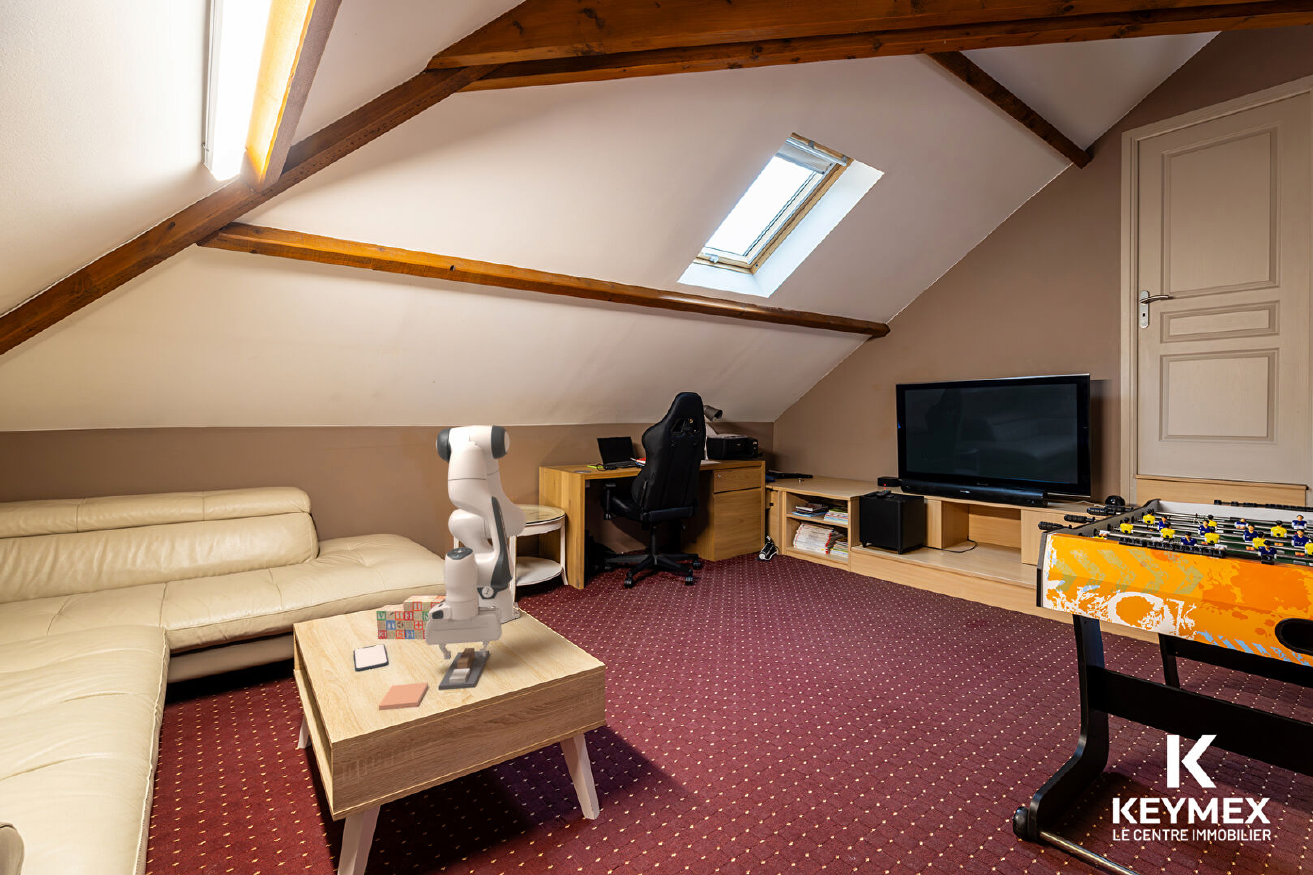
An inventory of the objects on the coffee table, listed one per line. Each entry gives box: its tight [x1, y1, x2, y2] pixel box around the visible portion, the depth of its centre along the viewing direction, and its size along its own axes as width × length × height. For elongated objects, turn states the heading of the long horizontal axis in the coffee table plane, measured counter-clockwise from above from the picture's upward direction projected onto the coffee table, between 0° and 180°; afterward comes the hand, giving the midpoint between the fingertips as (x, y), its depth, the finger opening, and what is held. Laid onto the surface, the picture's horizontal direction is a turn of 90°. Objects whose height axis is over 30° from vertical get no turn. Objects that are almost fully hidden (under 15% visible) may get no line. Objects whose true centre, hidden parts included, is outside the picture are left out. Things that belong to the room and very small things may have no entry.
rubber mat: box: [438, 649, 490, 691], centre depth 172 cm, size 22×9×1 cm, turn 5°
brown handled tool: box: [449, 647, 476, 684], centre depth 170 cm, size 16×4×3 cm, turn 5°
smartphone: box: [352, 643, 389, 673], centre depth 182 cm, size 9×2×16 cm
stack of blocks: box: [376, 595, 446, 640], centre depth 200 cm, size 21×6×12 cm, turn 85°
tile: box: [378, 682, 429, 711], centre depth 156 cm, size 2×9×11 cm
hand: (465, 657), depth 171 cm, fingers open, 8 cm apart
